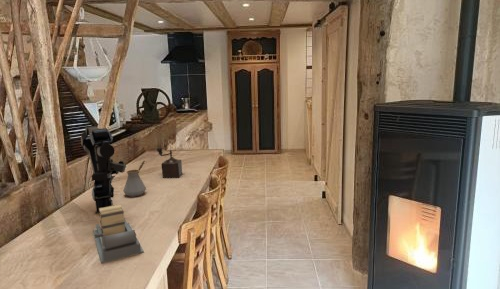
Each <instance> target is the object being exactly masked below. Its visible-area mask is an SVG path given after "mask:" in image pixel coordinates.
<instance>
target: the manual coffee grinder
mask: <svg viewBox="0 0 500 289" xmlns="http://www.w3.org/2000/svg"><path fill="white" fill-rule="evenodd" d="M156 152H157V153H158V155H159V157H164V156H165V157H166V156H169V155H170V157H169V158H168V159H166V160H164V161H163V162H162V163H161V164H160V165H161V173H162V179H180V178H181V176H182V175H183V164H182V159H176V158H174V157H173V156H172V155H173V154H172V153H173V152H172V149H170V150H169V153H165V154H164V153H163V147H162V146H158V147H156Z"/></svg>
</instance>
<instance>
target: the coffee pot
mask: <svg viewBox="0 0 500 289" xmlns="http://www.w3.org/2000/svg"><path fill="white" fill-rule="evenodd" d="M147 163H148V162H147V161H146V160H143V161H142V162H141V164H140V165H139V167H138V168H137V169H130V170H128V171H126V174H127V178H126V182H125V184H124V187H123V193H124V194H125V195H126V196H127V197H129V198H130V197H131V198H136V197H140V196H142V195H143V194H144V193H145V191H146V190H147V187H146V186H145V184H144V182H143V180H142V178H141V176H140V175H139V173H140V170H141V169H142V168H143V166H144V165H145V164H147Z"/></svg>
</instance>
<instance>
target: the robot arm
mask: <svg viewBox="0 0 500 289" xmlns="http://www.w3.org/2000/svg"><path fill="white" fill-rule="evenodd" d="M84 129H85V130H84V131H83V132H82V133H80V144H81V146H82V147H83V150H84V152H86V153H87V154H88V157H89V160H90V165H91V168H92V175H91V181H92V182H93V181H94V182H93V187H92V190H91V196H92V200H93V201H94V202H95V208H96V211H95V214H100V213H99V208H103V207H109V206H114V203H113V199H112V198H114V197H115V195H114V192H115V187H114V186H113V184H112V182H113V179H114V178H115V177H116V175H118V174H119V173H125V171H126V168H127V164H125V161H124V160H120V161H118V162H115V161H114V159H112V157H113V155H115V148H114V146H113V145H111V144H112V143H113V142H114V138H113V135H112V134H111V132H110V130H108V128H106V127H103V128H99V127H98V126H96V125H93V126H92V125H91V126H86V127H85V128H84ZM113 144H114V143H113Z"/></svg>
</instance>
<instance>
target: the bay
mask: <svg viewBox="0 0 500 289" xmlns="http://www.w3.org/2000/svg"><path fill="white" fill-rule="evenodd" d="M124 221H125V232H122V233H118V234H113V235H109V236H104V233H102V229H101V224H100V223H97V224H95V227H96V229H94V230H93V231H92V232H93V236H94V241H95V244H96V245H95V246H96V248H97V251H98V256H99V260H100V263H101V264H104V263H108V262H109V263H110V262H113V261H117V260H120V259H124V258H129V257H132V256H136V255H140V254H143V253H144V249H143V247H142V245H141V242H140V241H139V240H138V237H137V234H136V231H135V229H133V228H132V226H131V224H130V223H129V222H128V221H127V220H126V218H125V217H124Z"/></svg>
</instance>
